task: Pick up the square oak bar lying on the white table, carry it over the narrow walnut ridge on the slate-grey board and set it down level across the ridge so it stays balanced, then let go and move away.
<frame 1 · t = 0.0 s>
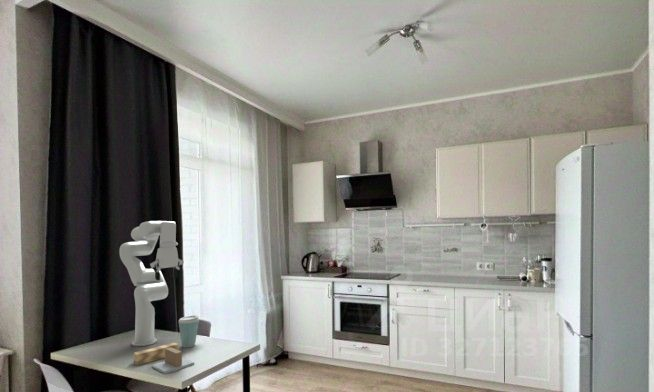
hand: (167, 278, 197), 37 cm above the table, fingers open, 9 cm apart
disposable coffee cup: (188, 345, 204), on the table
oak bar: (156, 358, 185), on the table
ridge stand: (173, 365, 175), on the table
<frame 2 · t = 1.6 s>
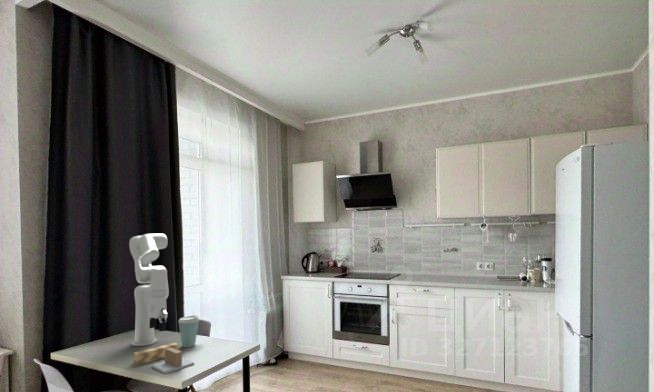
hand: (157, 329, 186), 14 cm above the table, fingers open, 9 cm apart
nothing on the table moved.
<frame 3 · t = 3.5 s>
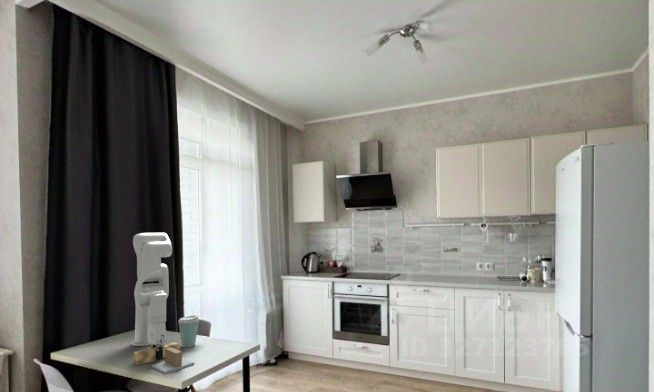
hand: (156, 357, 185), 0 cm above the table, fingers closed on oak bar, 4 cm apart
oak bar: (156, 358, 185), on the table, touching gripper
everything else where it was.
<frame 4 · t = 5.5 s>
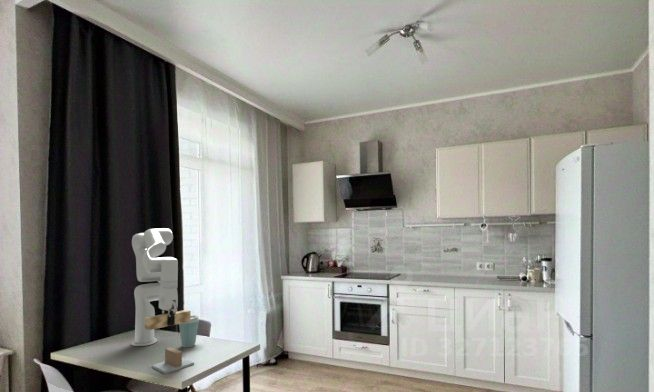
hand: (168, 323, 179), 18 cm above the table, fingers closed on oak bar, 4 cm apart
oak bar: (168, 324, 179), point 18 cm above the table, touching gripper
everything else where it was.
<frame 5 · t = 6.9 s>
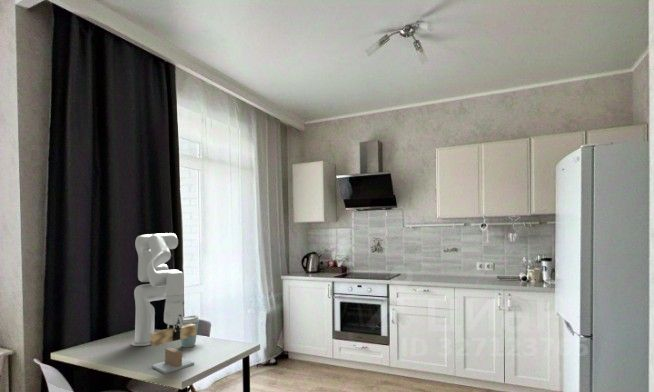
hand: (173, 338, 176), 12 cm above the table, fingers closed on oak bar, 4 cm apart
oak bar: (173, 339, 176), point 12 cm above the table, touching gripper
everything else where it was.
when the fingers open (8 cm above the table, at t = 8.0 s): oak bar stays where it is, resting on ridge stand.
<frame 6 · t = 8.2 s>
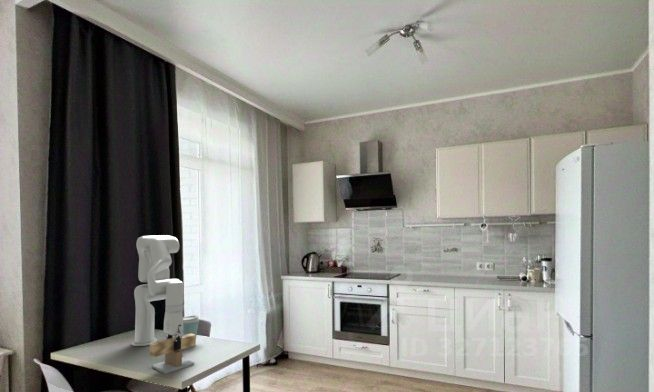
hand: (173, 347, 175), 8 cm above the table, fingers open, 6 cm apart
oak bar: (173, 350, 176), point 7 cm above the table, touching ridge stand
everything else where it was.
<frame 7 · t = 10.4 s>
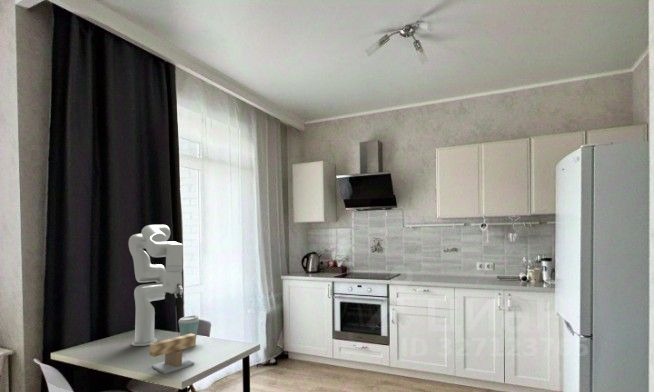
hand: (172, 304, 186), 26 cm above the table, fingers open, 9 cm apart
nothing on the table moved.
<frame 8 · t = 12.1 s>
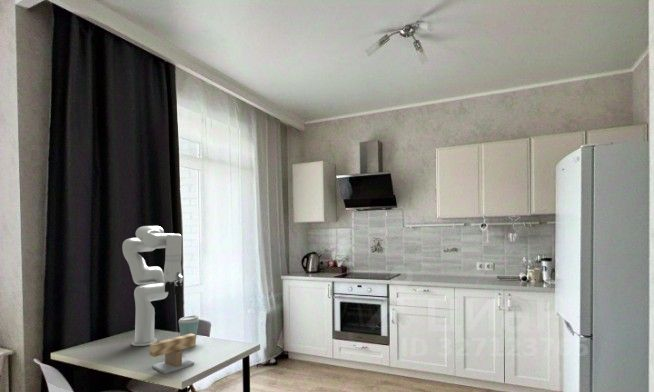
hand: (172, 292, 192), 30 cm above the table, fingers open, 9 cm apart
nothing on the table moved.
at the end: oak bar point 7.0 cm above the table; oak bar tilted 0°; oak bar 0.1 cm from the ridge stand (horizontally) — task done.
